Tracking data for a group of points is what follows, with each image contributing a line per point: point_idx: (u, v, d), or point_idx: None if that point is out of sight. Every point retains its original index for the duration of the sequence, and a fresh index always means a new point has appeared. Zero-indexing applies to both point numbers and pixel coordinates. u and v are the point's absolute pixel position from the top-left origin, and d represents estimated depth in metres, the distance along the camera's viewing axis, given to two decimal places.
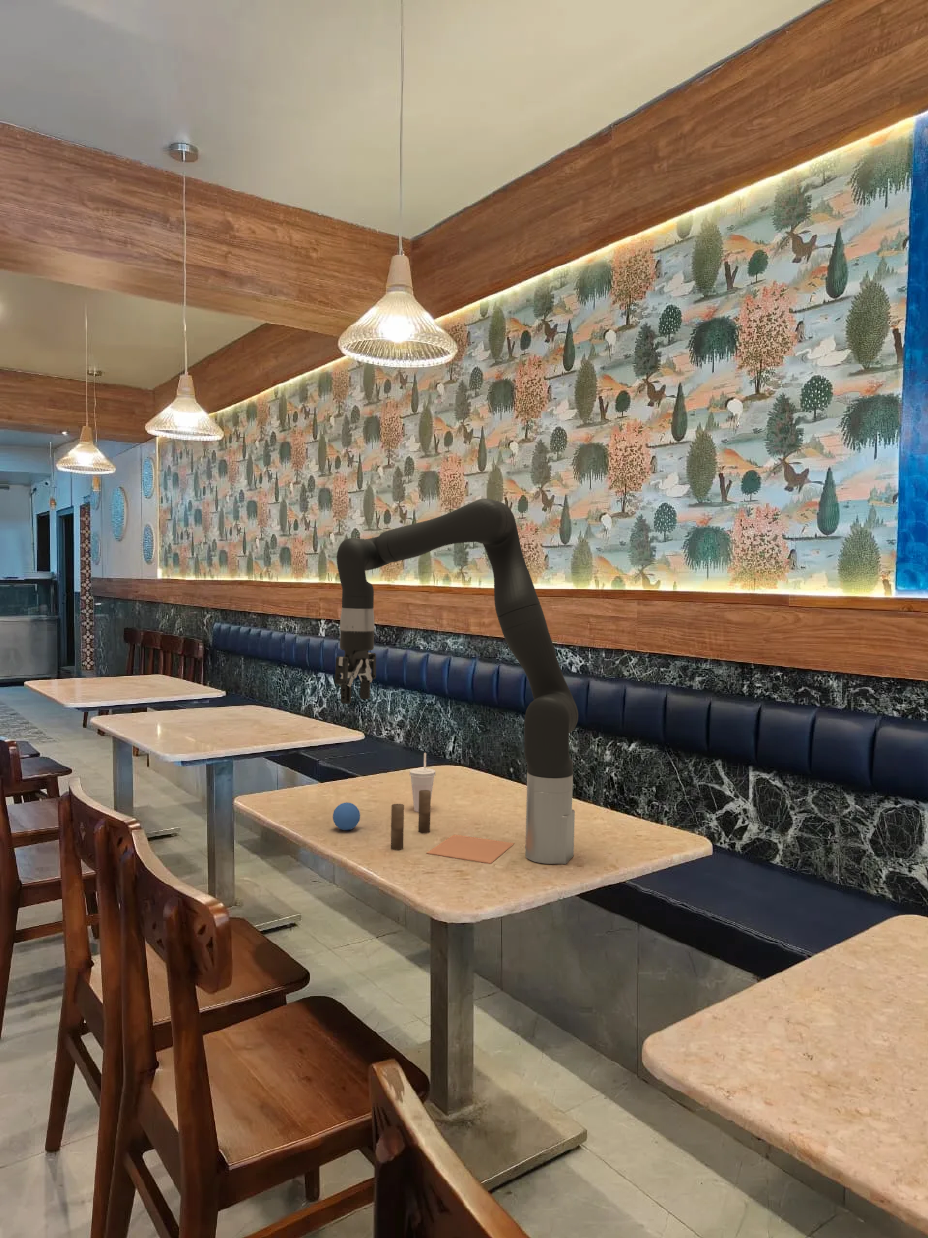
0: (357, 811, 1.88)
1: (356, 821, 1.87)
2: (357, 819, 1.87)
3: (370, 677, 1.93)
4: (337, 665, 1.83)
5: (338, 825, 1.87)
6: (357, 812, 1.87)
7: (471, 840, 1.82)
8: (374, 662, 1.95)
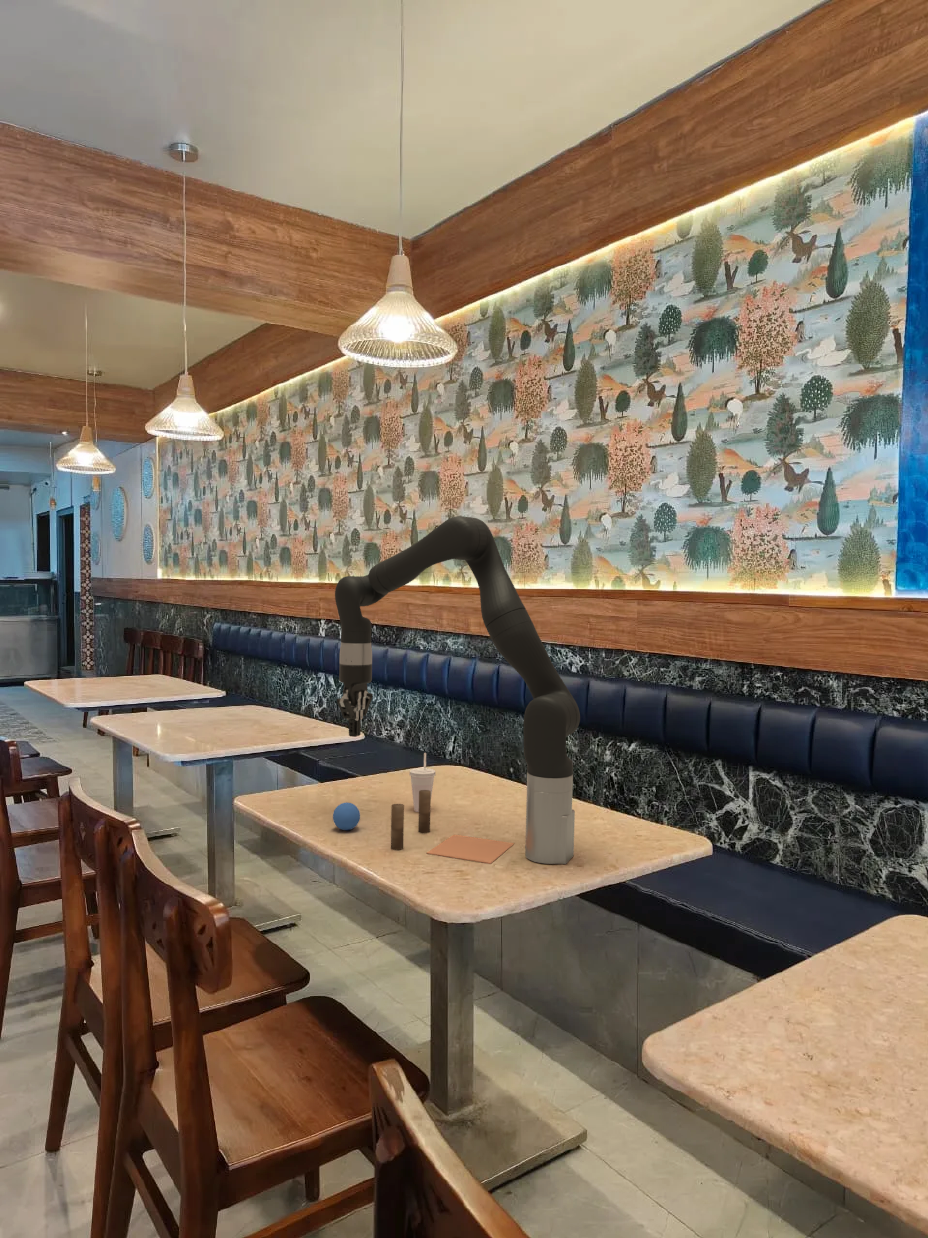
0: (357, 811, 1.88)
1: (356, 821, 1.87)
2: (357, 819, 1.87)
3: (360, 714, 1.99)
4: (340, 707, 1.94)
5: (338, 825, 1.87)
6: (357, 812, 1.87)
7: (471, 840, 1.82)
8: (369, 702, 2.02)
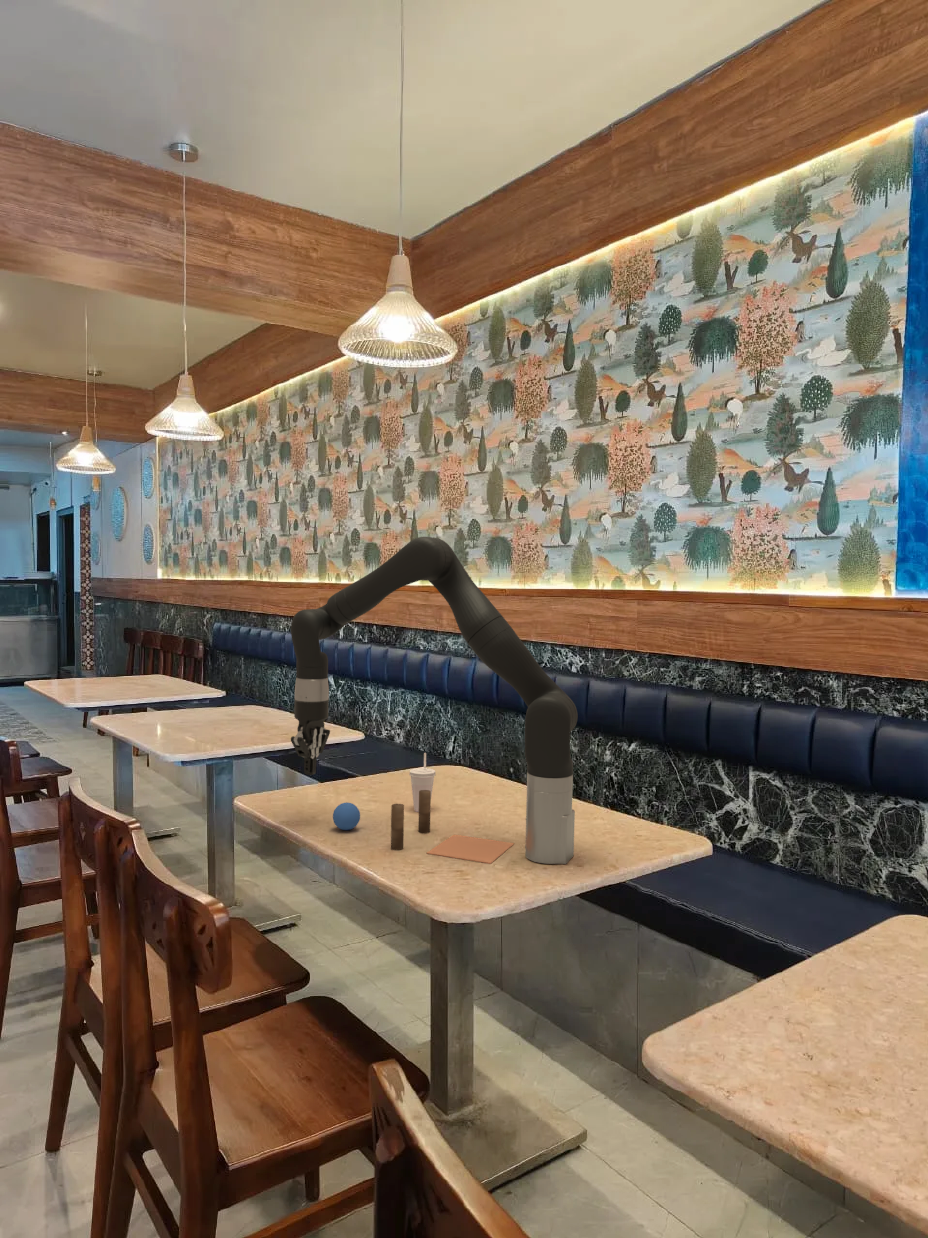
0: (357, 811, 1.88)
1: (356, 821, 1.87)
2: (357, 819, 1.87)
3: (316, 752, 1.92)
4: (294, 745, 1.87)
5: (338, 825, 1.87)
6: (357, 812, 1.87)
7: (471, 840, 1.82)
8: (326, 738, 1.95)
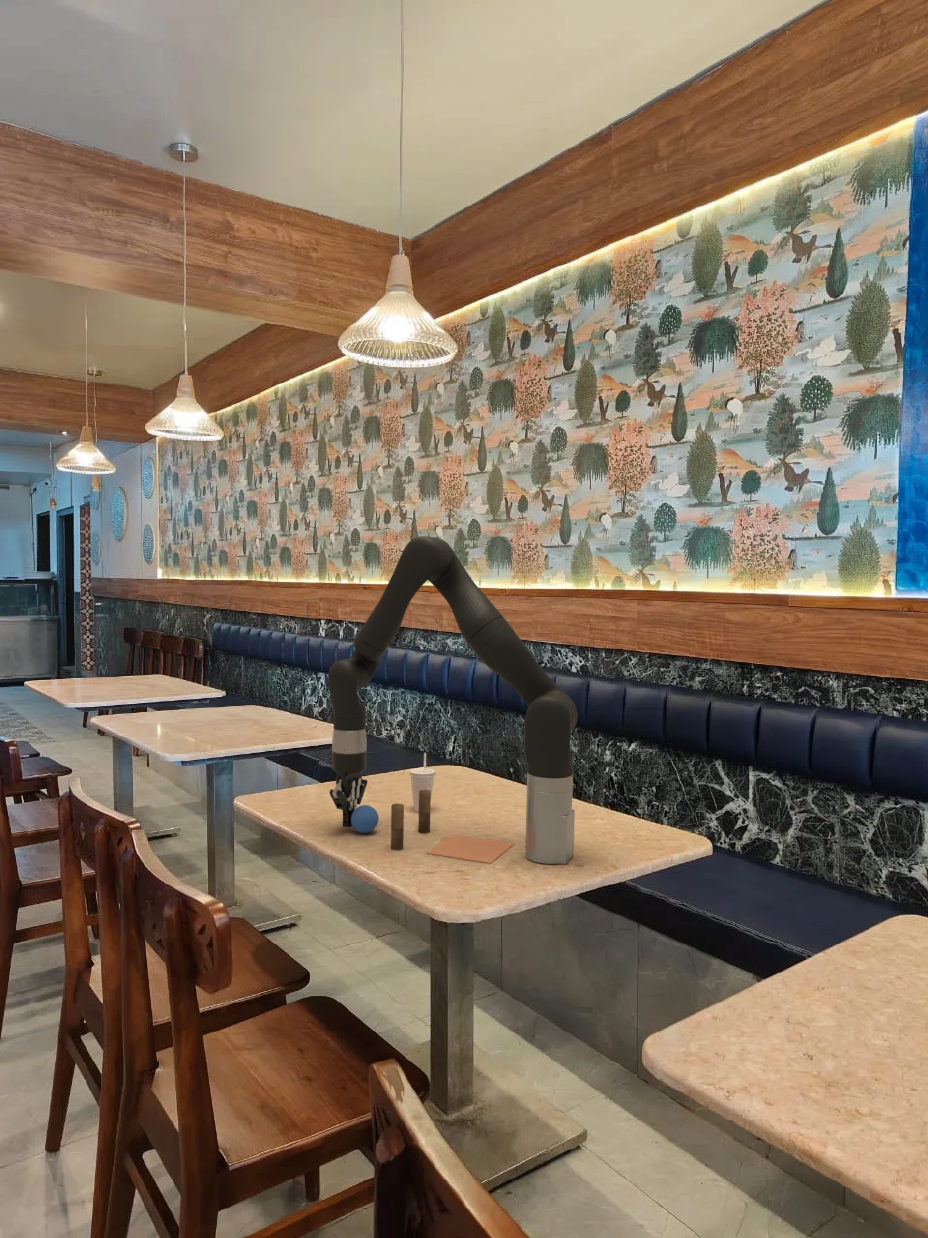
0: (373, 829, 1.86)
1: None
2: (366, 832, 1.87)
3: (354, 804, 1.88)
4: (333, 798, 1.84)
5: (352, 820, 1.85)
6: (371, 830, 1.86)
7: (471, 840, 1.82)
8: (364, 789, 1.92)
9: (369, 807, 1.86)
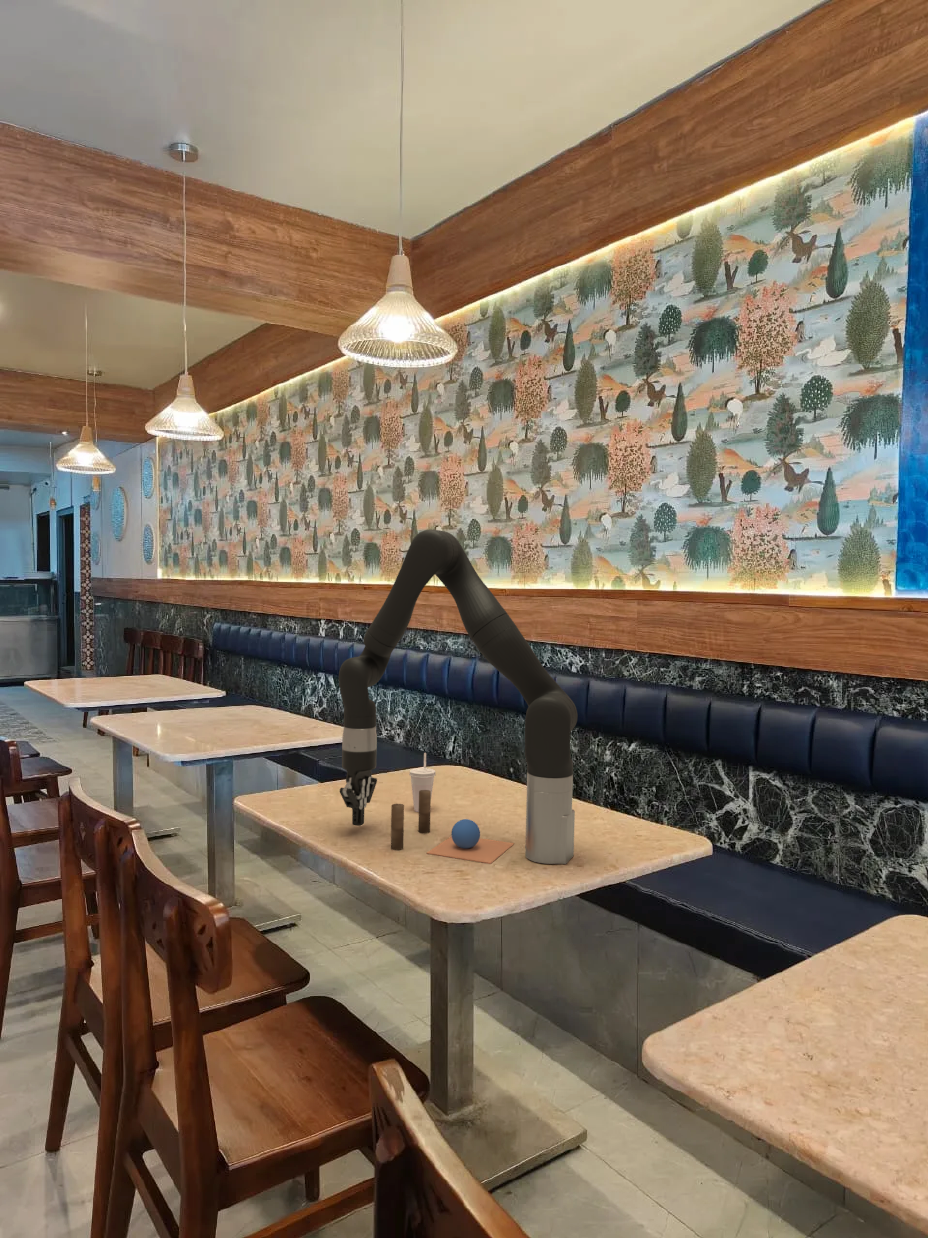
0: None
1: None
2: None
3: (364, 802, 1.87)
4: (343, 796, 1.83)
5: (462, 830, 1.75)
6: None
7: None
8: (373, 787, 1.91)
9: (476, 843, 1.77)
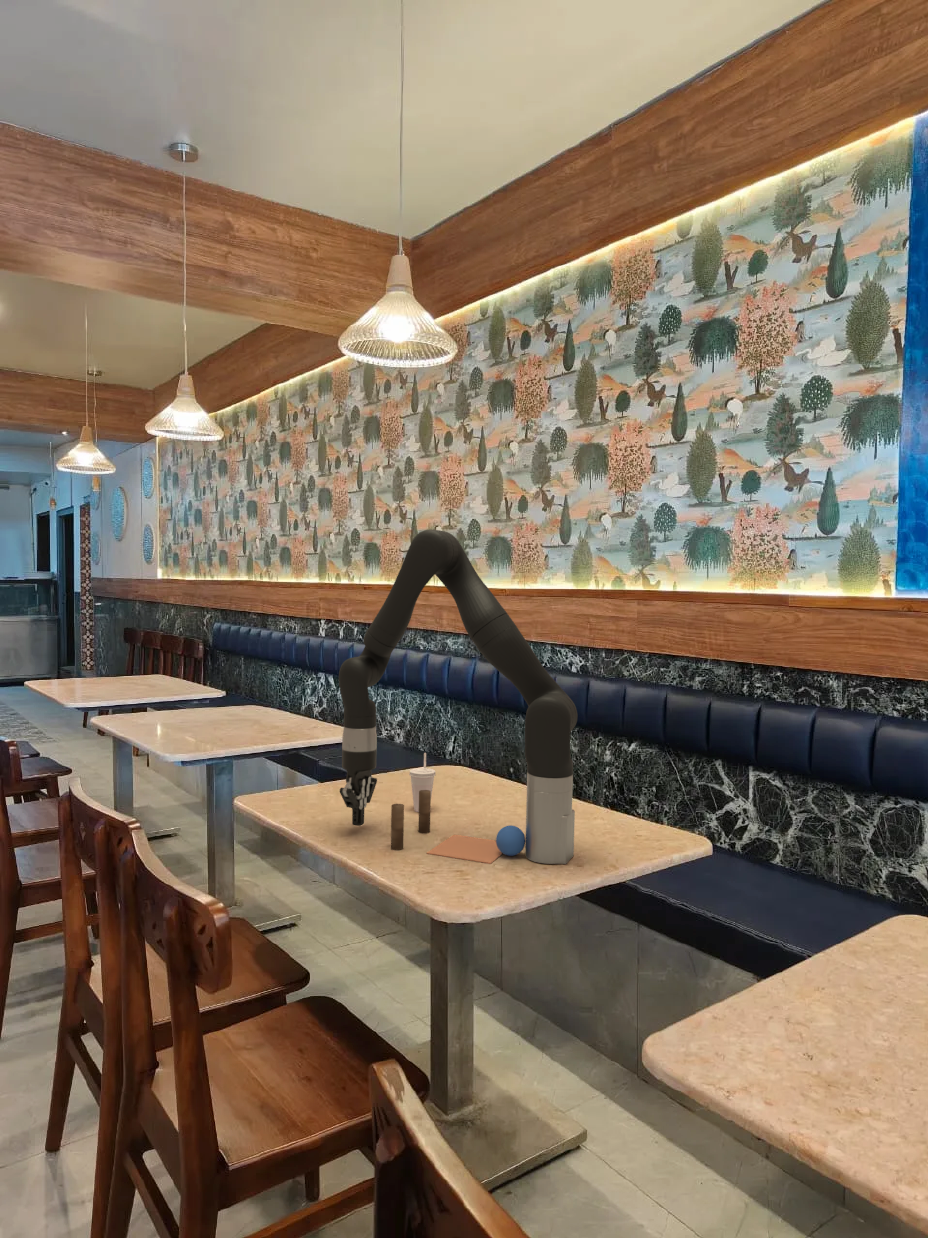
0: (523, 836, 1.73)
1: (522, 847, 1.72)
2: (523, 844, 1.72)
3: (364, 802, 1.87)
4: (343, 796, 1.83)
5: (503, 850, 1.72)
6: (523, 837, 1.72)
7: (471, 840, 1.82)
8: (373, 787, 1.91)
9: None
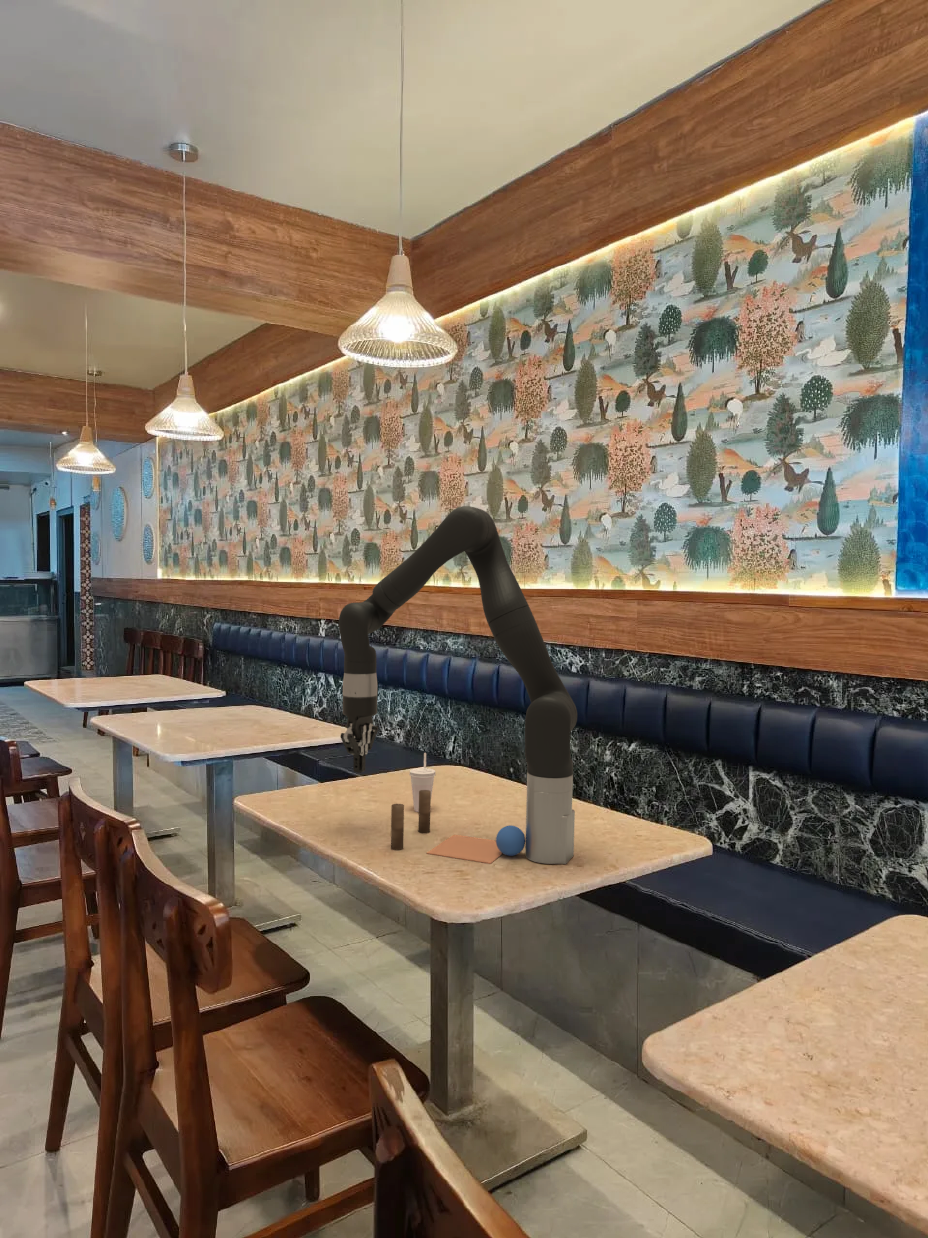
0: (523, 836, 1.73)
1: (522, 847, 1.72)
2: (523, 844, 1.72)
3: (365, 749, 1.87)
4: (344, 742, 1.82)
5: (503, 850, 1.72)
6: (523, 837, 1.72)
7: (471, 840, 1.82)
8: (374, 735, 1.91)
9: None
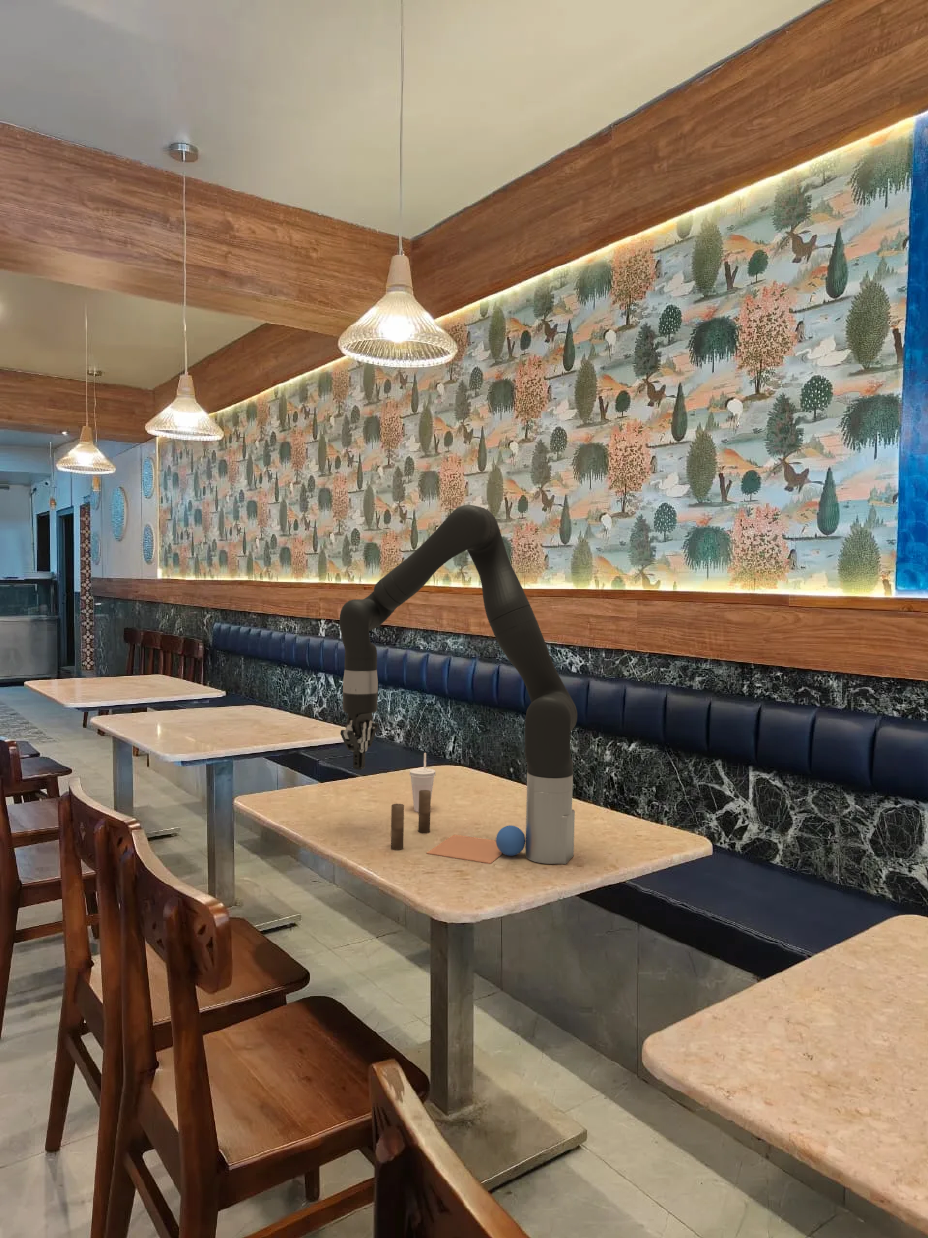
0: (523, 836, 1.73)
1: (522, 847, 1.72)
2: (523, 844, 1.72)
3: (365, 746, 1.87)
4: (344, 739, 1.82)
5: (503, 850, 1.72)
6: (523, 837, 1.72)
7: (471, 840, 1.82)
8: (374, 732, 1.91)
9: None
